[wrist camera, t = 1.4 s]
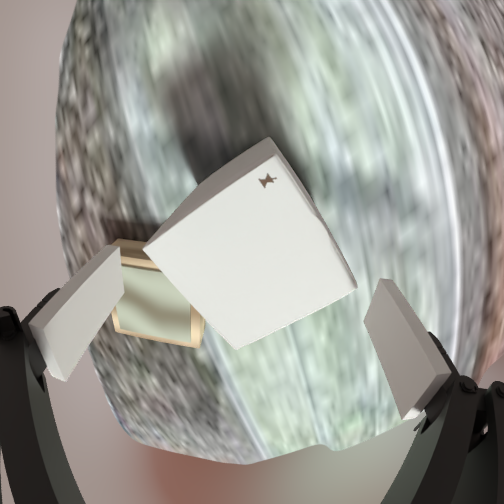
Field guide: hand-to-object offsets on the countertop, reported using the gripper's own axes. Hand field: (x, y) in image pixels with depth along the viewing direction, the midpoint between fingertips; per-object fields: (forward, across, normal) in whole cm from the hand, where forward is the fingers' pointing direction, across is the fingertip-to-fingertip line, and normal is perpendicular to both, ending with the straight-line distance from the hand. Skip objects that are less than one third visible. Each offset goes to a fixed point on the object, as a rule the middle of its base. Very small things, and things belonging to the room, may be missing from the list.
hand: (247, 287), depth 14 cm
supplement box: (+16, 0, 0) cm, 17 cm away
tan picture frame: (+16, -10, -12) cm, 22 cm away
